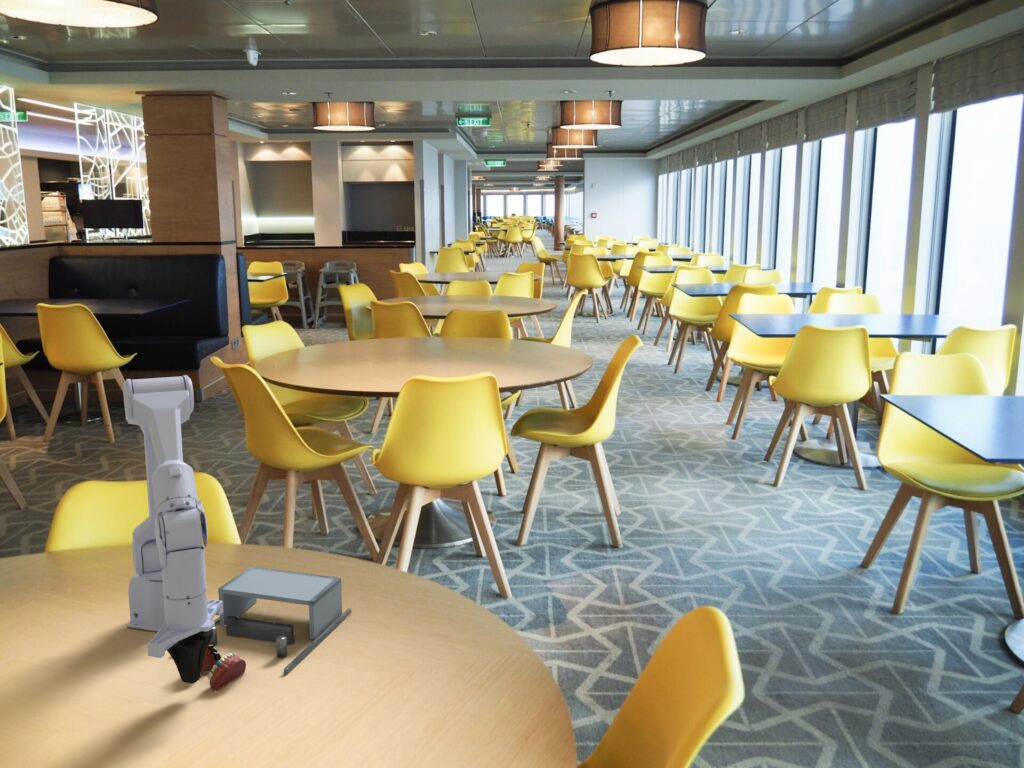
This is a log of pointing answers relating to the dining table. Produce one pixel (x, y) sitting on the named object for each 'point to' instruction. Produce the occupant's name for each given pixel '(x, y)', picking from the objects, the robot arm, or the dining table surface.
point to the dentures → (222, 667)
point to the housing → (284, 594)
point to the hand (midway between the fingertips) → (190, 680)
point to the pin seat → (272, 634)
